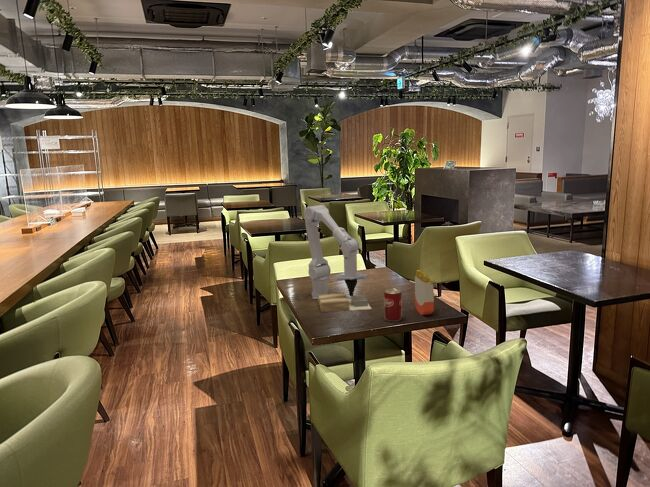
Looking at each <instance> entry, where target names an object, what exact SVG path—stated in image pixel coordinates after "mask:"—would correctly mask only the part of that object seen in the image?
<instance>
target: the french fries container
mask: <svg viewBox="0 0 650 487" xmlns="http://www.w3.org/2000/svg"><path fill="white" fill-rule="evenodd" d="M415 272H416V274H415V276H414V304H415V305H414V306H415V309H416V311H417V312H418V313H419V314H420V315H421V316H427V315H432V313H433V312H434V311H435V310H434V309H435V307H434V306H435V304H434V303H435V298H434V297H435V296H434V292H435V290H434V282H435V281H434V280H431V278H430V277H428V274H427V273H426V274H425V273H424V272H422V271H421V269H417V270H415Z"/></svg>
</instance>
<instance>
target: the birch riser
mask: <svg viewBox="0 0 650 487" xmlns="http://www.w3.org/2000/svg"><path fill="white" fill-rule="evenodd" d="M347 299H348V298H347V296H346V294H345V292H333V293H331V292H329V293H328V294H318V299H317V301H318V305H319V307H320V312H321V313H328V312H331V313H332V312H341V311H343V312H345V311H350V309H349V301H348V300H347Z"/></svg>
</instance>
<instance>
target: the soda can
mask: <svg viewBox="0 0 650 487" xmlns="http://www.w3.org/2000/svg"><path fill="white" fill-rule="evenodd" d="M383 311H384V312H383V318H384V320H385V321H387V322H391V323H394V322H399V321H401V320H402V318H403V292H402V290H400V289H396V288H387V289H385V290H384V291H383Z"/></svg>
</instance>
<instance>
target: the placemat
mask: <svg viewBox="0 0 650 487" xmlns="http://www.w3.org/2000/svg"><path fill="white" fill-rule="evenodd" d="M347 300H348V301H349V311H350V312H352V311H353V312H354V311H355V312H356V311H365V310H367V311H368V310H372V307H371V305H370V304H369V303H368V306H362V307H355V306H354V305H353V303H352V301H351V298H347Z"/></svg>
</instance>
